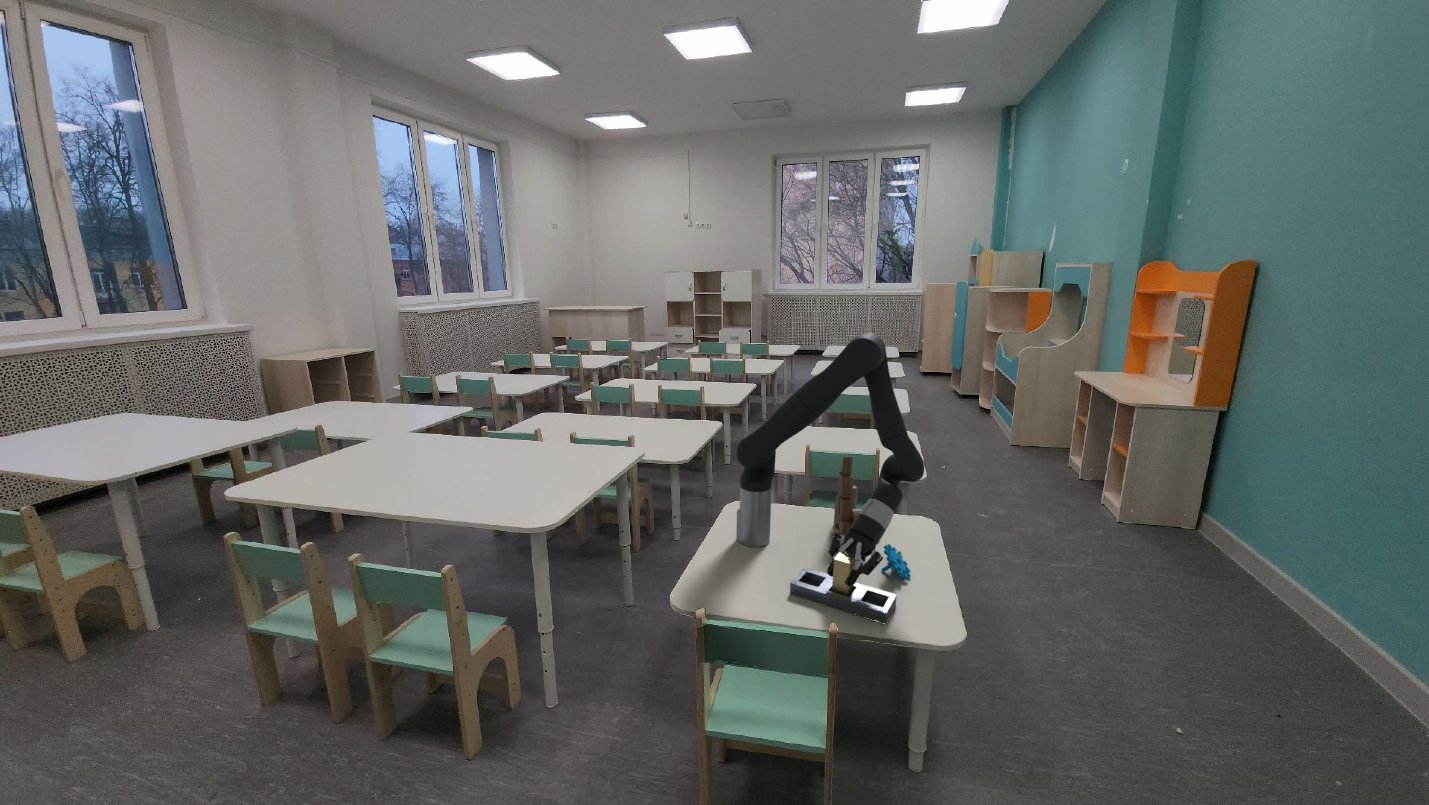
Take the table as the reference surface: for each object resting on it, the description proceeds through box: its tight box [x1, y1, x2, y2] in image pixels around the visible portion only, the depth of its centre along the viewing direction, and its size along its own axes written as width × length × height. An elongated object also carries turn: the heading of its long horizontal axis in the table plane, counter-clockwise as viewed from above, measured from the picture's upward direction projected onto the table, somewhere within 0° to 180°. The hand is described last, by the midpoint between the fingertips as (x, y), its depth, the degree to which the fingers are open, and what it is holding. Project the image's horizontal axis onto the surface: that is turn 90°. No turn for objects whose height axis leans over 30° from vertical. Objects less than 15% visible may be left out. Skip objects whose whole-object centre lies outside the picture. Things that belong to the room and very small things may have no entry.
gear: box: [881, 543, 911, 580], centre depth 155 cm, size 11×6×10 cm
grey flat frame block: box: [789, 566, 898, 624], centre depth 142 cm, size 24×9×3 cm, turn 58°
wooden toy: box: [833, 455, 861, 545], centre depth 175 cm, size 16×7×25 cm, turn 178°
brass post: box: [832, 552, 855, 597], centre depth 141 cm, size 4×4×10 cm
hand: (838, 579), depth 140 cm, fingers closed on brass post, 5 cm apart
